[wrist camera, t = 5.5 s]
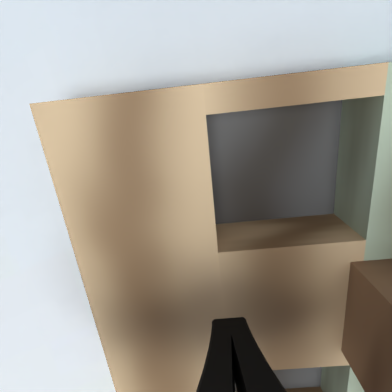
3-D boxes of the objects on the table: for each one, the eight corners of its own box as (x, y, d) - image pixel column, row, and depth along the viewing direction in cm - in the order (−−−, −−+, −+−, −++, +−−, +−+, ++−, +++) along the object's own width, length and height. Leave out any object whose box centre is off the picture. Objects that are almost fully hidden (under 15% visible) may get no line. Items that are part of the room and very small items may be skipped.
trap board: (486, 55, 11) (587, 38, 8) (408, 387, 17) (448, 441, 15) (70, 104, 12) (29, 104, 9) (145, 402, 18) (135, 456, 16)
